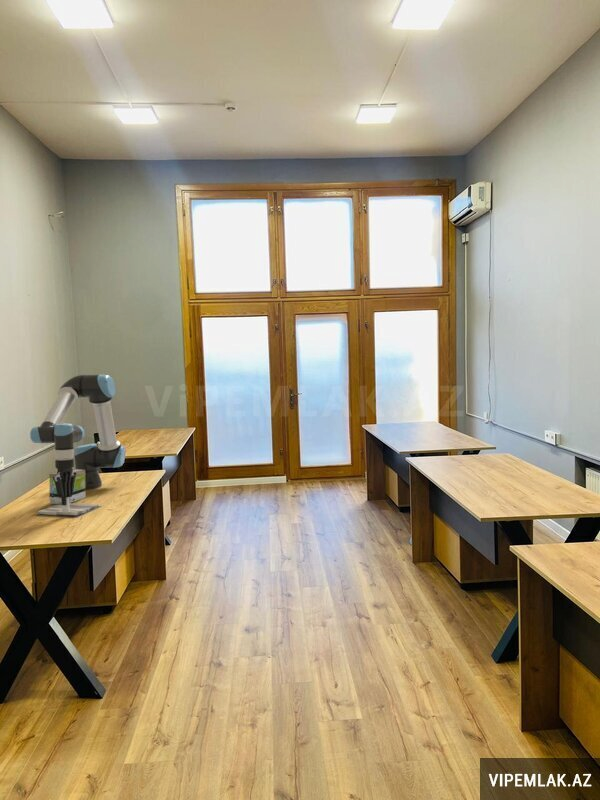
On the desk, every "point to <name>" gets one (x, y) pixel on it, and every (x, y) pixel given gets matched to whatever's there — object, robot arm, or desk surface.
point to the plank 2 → (73, 512)
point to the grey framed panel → (68, 515)
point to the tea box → (78, 487)
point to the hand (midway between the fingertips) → (66, 511)
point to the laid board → (78, 506)
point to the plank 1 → (49, 511)
